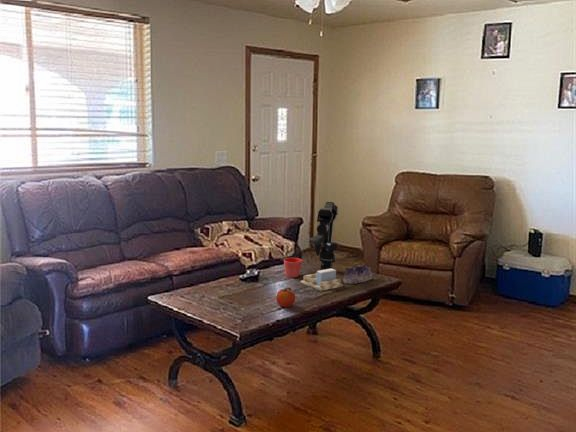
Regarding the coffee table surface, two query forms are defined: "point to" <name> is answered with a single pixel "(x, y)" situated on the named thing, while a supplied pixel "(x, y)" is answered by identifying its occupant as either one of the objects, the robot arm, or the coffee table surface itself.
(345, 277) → the geode
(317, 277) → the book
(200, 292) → the coffee table surface
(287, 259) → the flower pot
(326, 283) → the rack
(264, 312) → the coffee table surface
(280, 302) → the fruit
